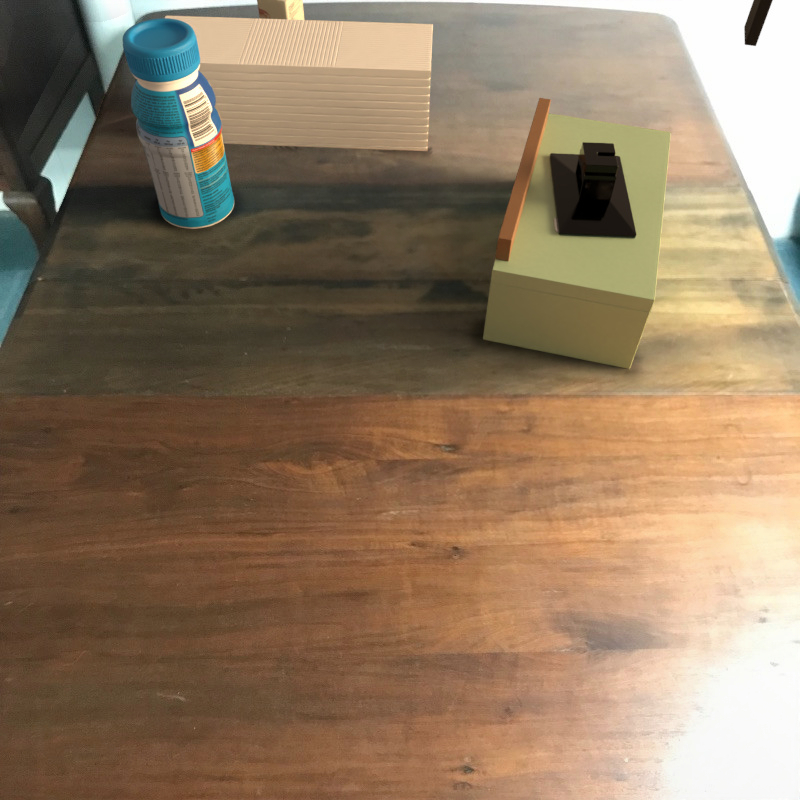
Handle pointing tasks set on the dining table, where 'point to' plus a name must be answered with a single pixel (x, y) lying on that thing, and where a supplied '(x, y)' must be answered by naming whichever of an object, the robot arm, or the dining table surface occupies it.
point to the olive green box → (578, 250)
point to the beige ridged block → (318, 81)
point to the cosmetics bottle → (281, 9)
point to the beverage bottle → (178, 123)
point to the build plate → (591, 193)
